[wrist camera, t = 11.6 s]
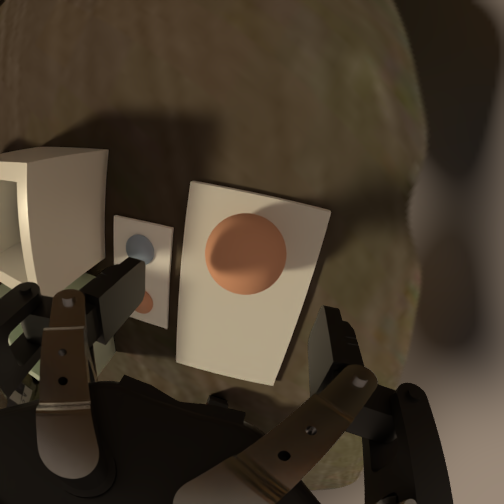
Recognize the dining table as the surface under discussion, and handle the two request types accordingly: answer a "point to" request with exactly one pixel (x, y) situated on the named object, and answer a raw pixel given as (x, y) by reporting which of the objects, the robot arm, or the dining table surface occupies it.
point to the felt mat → (236, 305)
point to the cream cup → (51, 215)
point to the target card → (147, 263)
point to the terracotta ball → (245, 253)
